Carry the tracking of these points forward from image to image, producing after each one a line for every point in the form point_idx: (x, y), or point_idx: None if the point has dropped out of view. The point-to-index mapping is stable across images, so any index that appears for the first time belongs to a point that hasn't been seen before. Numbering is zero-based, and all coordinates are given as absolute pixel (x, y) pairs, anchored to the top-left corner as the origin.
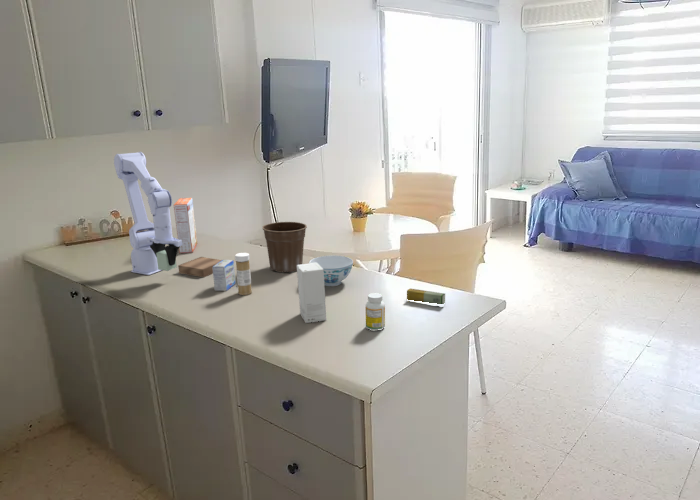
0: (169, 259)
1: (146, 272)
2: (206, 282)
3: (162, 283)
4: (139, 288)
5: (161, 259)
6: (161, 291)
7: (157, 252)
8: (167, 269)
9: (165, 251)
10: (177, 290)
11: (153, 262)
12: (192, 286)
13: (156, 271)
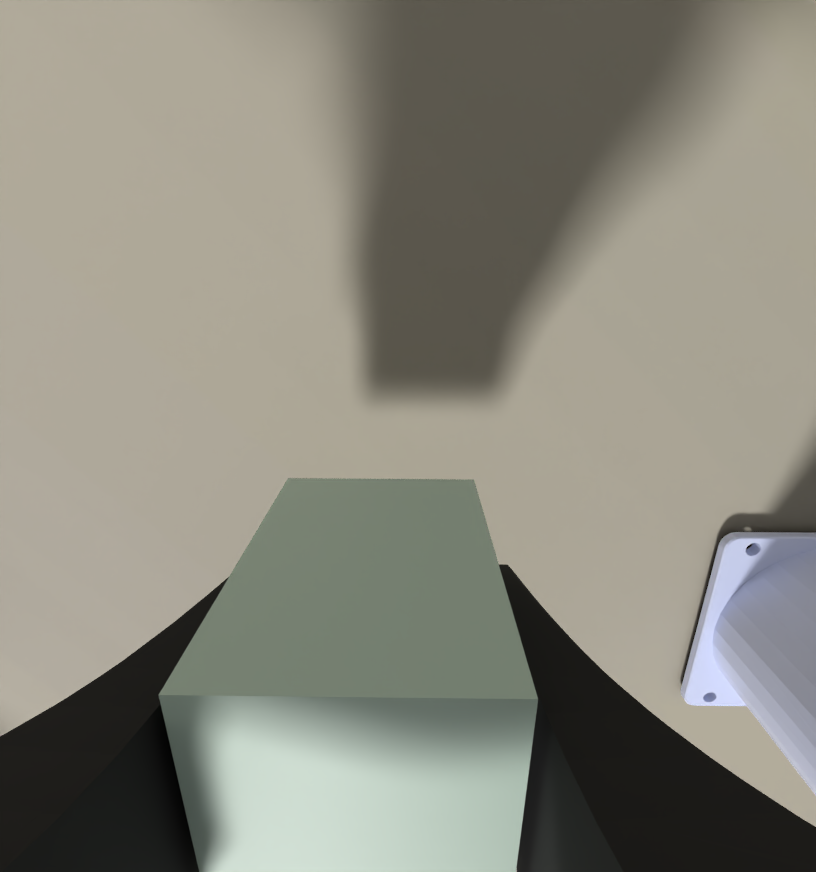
0: (180, 625)
1: (783, 561)
2: (67, 592)
3: (415, 414)
4: (534, 172)
5: (368, 581)
6: (214, 210)
7: (529, 731)
8: (284, 491)
9: (396, 845)
10: (93, 316)
11: (792, 690)
12: (75, 468)
13: (703, 620)
